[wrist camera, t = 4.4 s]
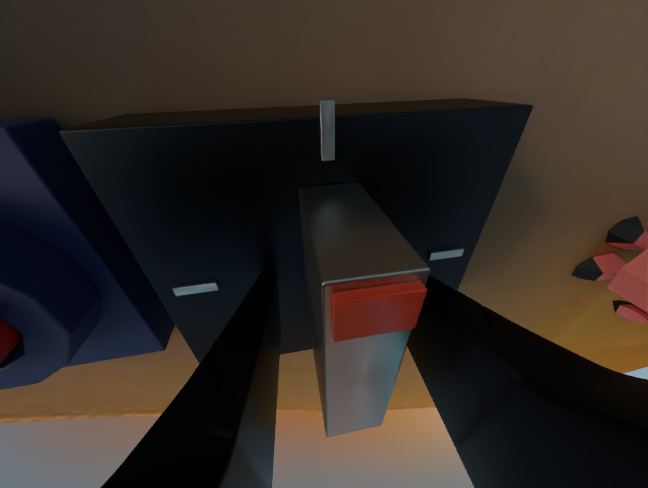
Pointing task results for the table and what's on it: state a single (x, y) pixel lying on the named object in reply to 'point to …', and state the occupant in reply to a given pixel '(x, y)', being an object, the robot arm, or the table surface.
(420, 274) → the grey post red patch
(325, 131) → the dial panel
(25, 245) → the button box
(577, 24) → the table surface
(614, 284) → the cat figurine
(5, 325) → the red button
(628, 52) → the table surface
